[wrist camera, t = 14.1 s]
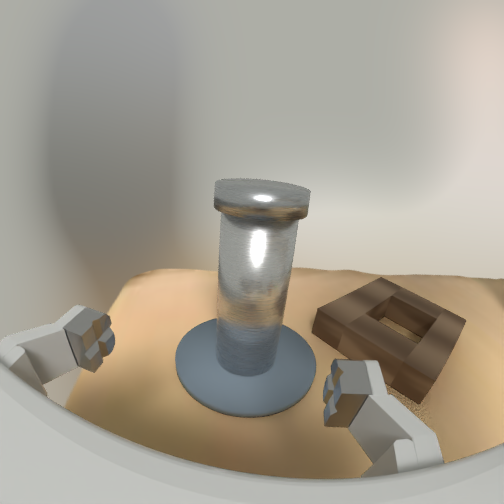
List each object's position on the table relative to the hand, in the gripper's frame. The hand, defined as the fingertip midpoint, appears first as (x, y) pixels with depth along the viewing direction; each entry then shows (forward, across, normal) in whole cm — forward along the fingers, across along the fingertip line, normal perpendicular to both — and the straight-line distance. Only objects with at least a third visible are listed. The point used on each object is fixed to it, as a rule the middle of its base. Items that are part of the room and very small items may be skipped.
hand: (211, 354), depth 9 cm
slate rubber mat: (+11, 0, +10) cm, 15 cm away
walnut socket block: (+16, -16, +10) cm, 25 cm away
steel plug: (+11, 0, +10) cm, 14 cm away
